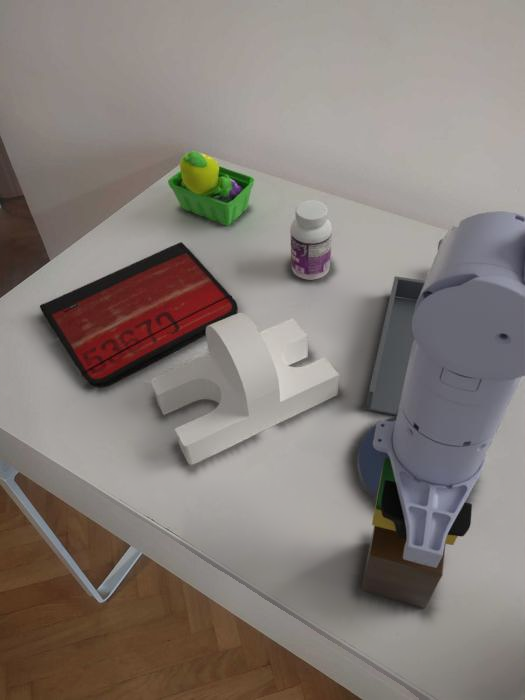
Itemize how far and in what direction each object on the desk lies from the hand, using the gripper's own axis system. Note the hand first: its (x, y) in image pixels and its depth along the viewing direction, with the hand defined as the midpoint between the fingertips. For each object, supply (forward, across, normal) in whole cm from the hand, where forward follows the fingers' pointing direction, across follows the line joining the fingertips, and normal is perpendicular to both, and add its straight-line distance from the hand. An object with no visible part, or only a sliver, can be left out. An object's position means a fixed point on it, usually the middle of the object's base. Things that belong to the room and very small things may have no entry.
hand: (415, 508), depth 44 cm
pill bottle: (+11, -37, -17) cm, 42 cm away
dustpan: (+10, -28, 0) cm, 30 cm away
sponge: (0, 0, 0) cm, 0 cm away
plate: (+10, -10, 0) cm, 14 cm away
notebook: (+11, -23, -36) cm, 44 cm away
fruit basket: (+11, -46, -35) cm, 59 cm away
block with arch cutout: (+11, -14, -19) cm, 26 cm away
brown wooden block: (+10, +1, 0) cm, 10 cm away
